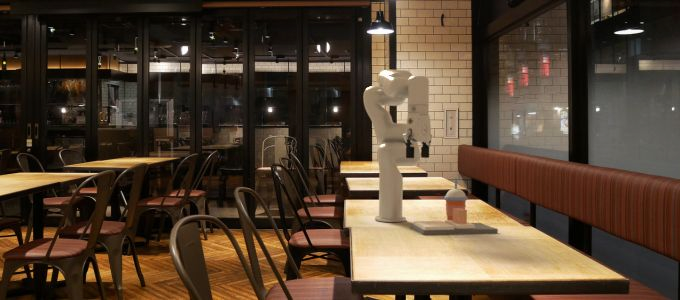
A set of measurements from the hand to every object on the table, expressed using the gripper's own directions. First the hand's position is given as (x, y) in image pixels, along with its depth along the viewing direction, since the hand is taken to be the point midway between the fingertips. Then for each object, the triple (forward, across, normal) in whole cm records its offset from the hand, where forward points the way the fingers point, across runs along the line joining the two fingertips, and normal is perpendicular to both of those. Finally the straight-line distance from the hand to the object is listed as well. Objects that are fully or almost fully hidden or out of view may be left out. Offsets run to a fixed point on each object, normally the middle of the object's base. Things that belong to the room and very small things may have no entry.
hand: (417, 157), depth 219 cm
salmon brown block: (+25, +13, -10) cm, 30 cm away
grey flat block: (+27, +11, -8) cm, 30 cm away
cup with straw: (+27, +29, +1) cm, 39 cm away
